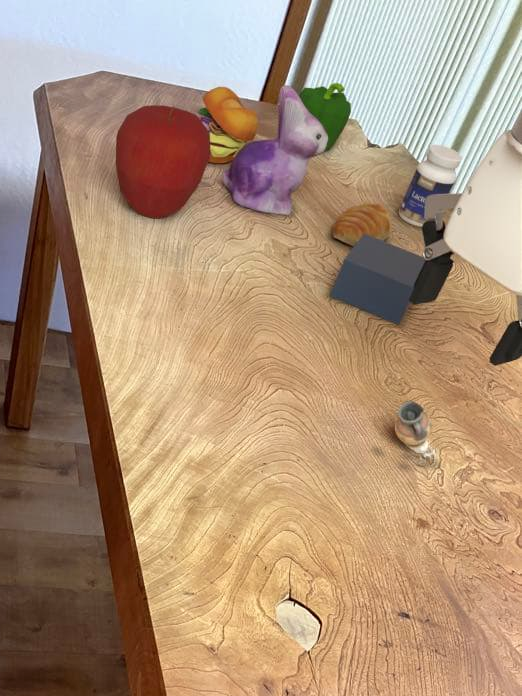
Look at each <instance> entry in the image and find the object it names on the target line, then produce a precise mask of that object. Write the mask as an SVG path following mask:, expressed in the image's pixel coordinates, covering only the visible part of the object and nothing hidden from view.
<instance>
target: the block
mask: <svg viewBox="0 0 522 696" xmlns="http://www.w3.org/2000/svg"><path fill="white" fill-rule="evenodd" d="M425 260H426V259H424V257H423V255H420V254H417V253H414V252H412V251H409V250H407V249H404V248H401V247H399V246H397V245H394V244H391V243H389V242H387V241H385V240H384V241H382V240H379V239H377V238H374V237H372V236H369V235H367V234H363V236H362V237H361V238H360V240H359V241H358V242H357V243H356V245H355V246H352V248H351V250H350V251H349V252H348V253H347V255H346V256H345V258H343V261H342V264H341V266H340V269H339V271H338V274H337V276H336V279H335V281H334V284H333V286H332V288H331V291H330V293H329V297H330V298H333V299H336V300H338V301H341V302H343V303H346V304H348V305H350V306H352V307H355V308H357V309H360V310H362V311H365V312H367V313H369V314H371V315H374V316H376V317H378V318H381V319H383V320H386V321H389V322H391V323H393V324H396V325H400V323H401V322H402V320H403V318H404V316H405V315H406V313H407V312H408V309H409V308H410V306H411V305H412V303H411V302H409V298H410V296H411V294H412V292H413V290H414V283H415V281H416V279H417V277H418V275H419V273H420V271H421V269H422V267H423V264H424V262H425Z"/></svg>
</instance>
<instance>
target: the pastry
mask: <svg viewBox="0 0 522 696" xmlns="http://www.w3.org/2000/svg"><path fill="white" fill-rule="evenodd" d="M390 216H391V214H390V212H389V211H388V210H387V209H386V207H385V206H383V205H381V204H379V203H370V202H368V201H366V202H365V203H361V204H359V205H357V206H352V207H348V209H347V210H345V211H344V212H342V213H341V214H340V215H339V216H338V217H337V219H336V221H335V223H334V225H333V228H332V231H331V234H332V238H334V239H337V240H339V241H341V242H343V243H345V244H347V245H349V246H351V247H354V246H355V245H356V243H357V242H358V241H359V240H360V238H361V237H362V236H363V234H367V235H369V236H372V237H374V238H377V239H379V240H382V241H384V242H385V240H386V239H387V238H388V237H389V236H391V235H392V233H393V229H392V221H391V217H390Z"/></svg>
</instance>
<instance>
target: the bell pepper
mask: <svg viewBox="0 0 522 696" xmlns="http://www.w3.org/2000/svg"><path fill="white" fill-rule="evenodd" d="M335 90H337V92H335ZM344 91H345V87H344V85H343V84H341V83H339V82H334V83H331V84H330V85H329V87H328V88H327V87H326V86H323V85H322V86H317V87H304V88H302V90H301V92H300V93H299V94H298V96H299V97H300V99H301V101H302V103H303V104H304V106H305V107H306V109H307V110H308V111H309V113H310V114H311V115H313V116H314V117H315V118H316V119H317V120H318V121H319V122H320V123H321V124H322V126H323V127H324V130H325V132H326V133H327V135H328V142H327V146H326V148H325V150H324V152H326V151H329V150H331V148H332V147H334V145H335V144H336V142H337V141H338V140H339V138H340V137H341V134H342V133H343V131H344V129H345V128H346V126H347V124H348V121H349V119H350V116H351V113H352V104H351V102H350V101H348V100H347V97H346V94H345V93H344Z"/></svg>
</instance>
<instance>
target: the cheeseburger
mask: <svg viewBox="0 0 522 696" xmlns="http://www.w3.org/2000/svg"><path fill="white" fill-rule="evenodd" d="M202 101H203V104H204V106H205V107H201V108H200V109H198V111H197V110H196V111H192V112H191V113H193V114H195V115H197V116H198V118H199V119H200V120H201V121H202V123H203V124H204V125H205V127H206V128H207V130H208V131H209V132H210V150H211V151H210V158H209V161H208V163H212V164H225V163H231V162H232V161H233V159H234V158H235V156H236V154H237V153H238V152H239V150H240V149H241V148H242V147H244V146H245V145H247V144H248V142H252V141H254V139H255V137H256V135H257V133H258V129H259V119H258V116H257V112H255V111H254V110H253V109H251V108H247V107H245V106H244V105H243V103H242V101H241V100H240V98H239V96H238V95H237V93H235V92H234V91H233V90H232V89H230V88H229V87H226V86H217V87H214V88H211V89H209V91H207V92H206V93H205V94H204V95H203V97H202Z"/></svg>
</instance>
